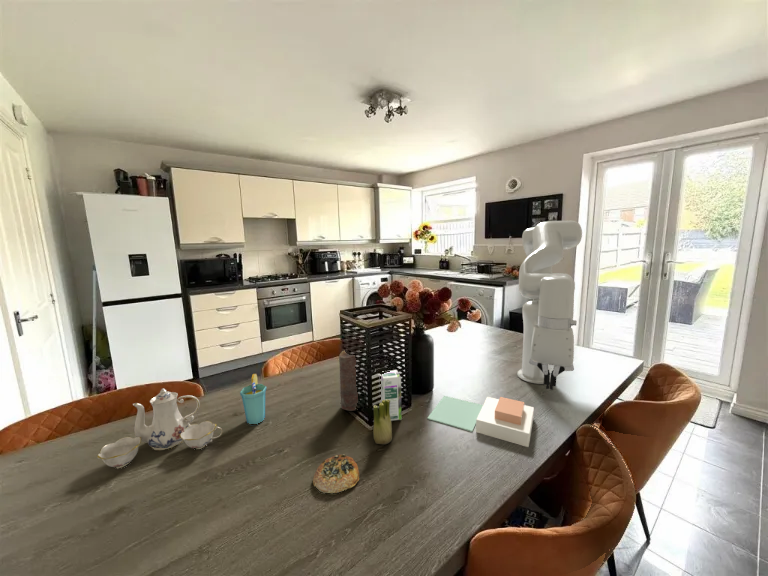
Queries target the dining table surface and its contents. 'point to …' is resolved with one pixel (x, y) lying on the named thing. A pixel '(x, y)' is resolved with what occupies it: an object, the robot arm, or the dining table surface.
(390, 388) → the syrup box
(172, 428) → the chinaware
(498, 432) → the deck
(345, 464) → the bread roll
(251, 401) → the cup
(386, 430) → the fennel bulb
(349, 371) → the candle
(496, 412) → the tile
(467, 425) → the mat
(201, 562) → the dining table surface
